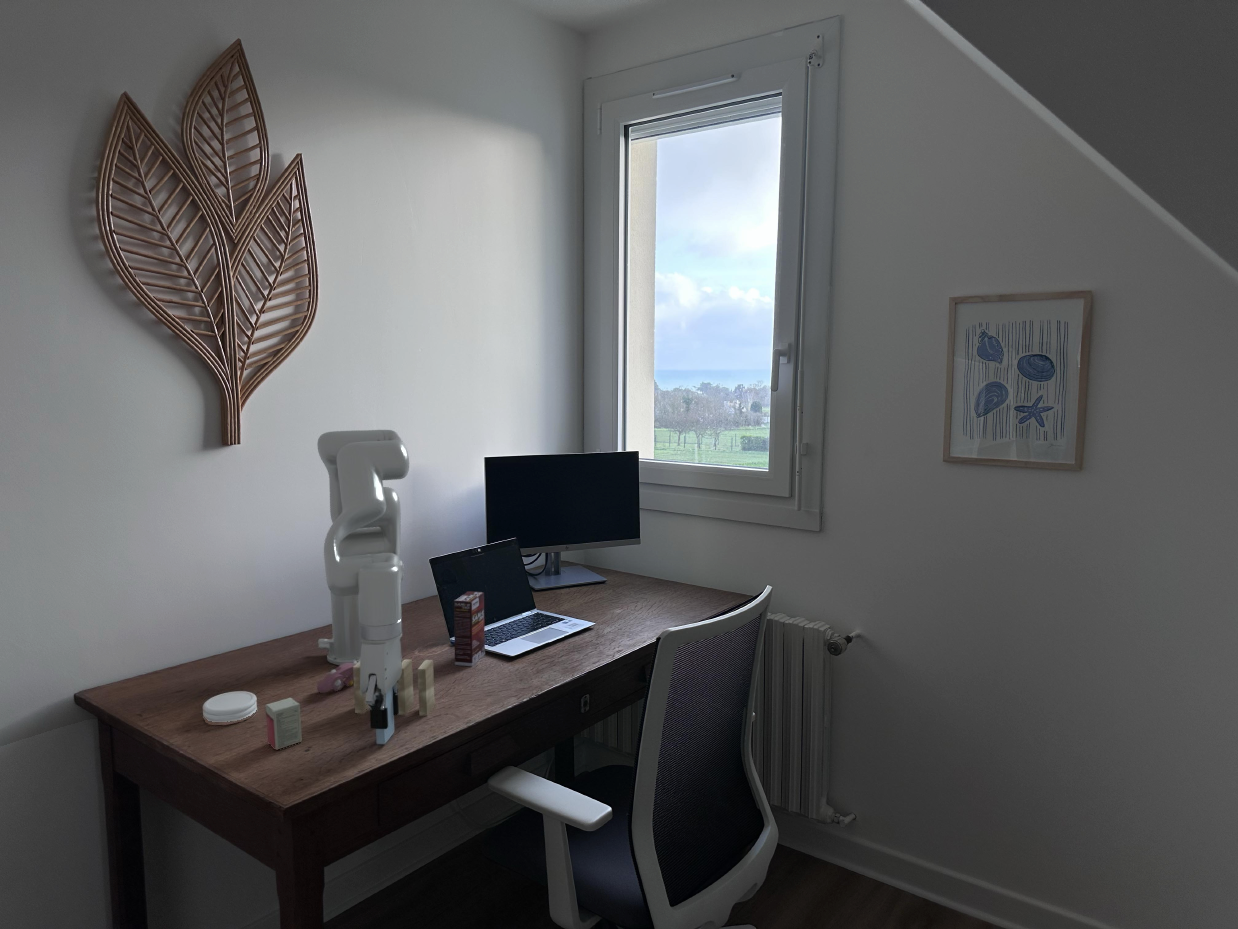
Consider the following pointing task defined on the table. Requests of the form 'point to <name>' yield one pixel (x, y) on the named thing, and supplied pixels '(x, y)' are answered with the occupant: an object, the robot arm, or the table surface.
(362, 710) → the domino
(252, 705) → the white round lid
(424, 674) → the domino
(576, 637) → the table surface
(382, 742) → the end domino
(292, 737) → the small box
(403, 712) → the domino
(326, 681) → the pink toy car
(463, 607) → the supplement box
